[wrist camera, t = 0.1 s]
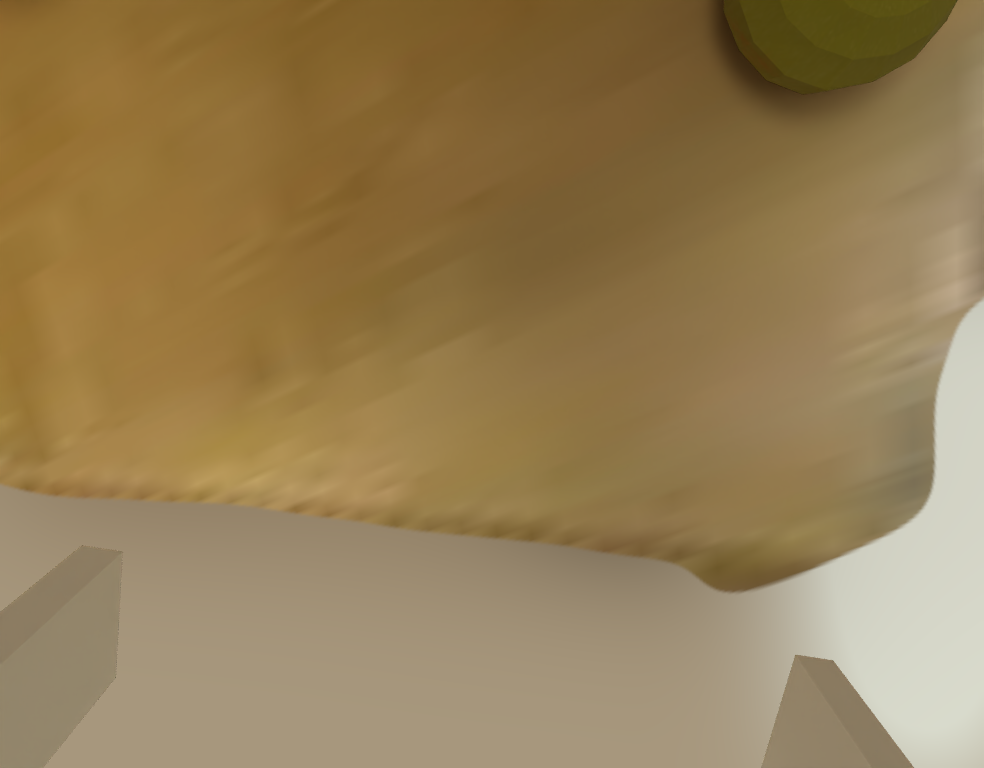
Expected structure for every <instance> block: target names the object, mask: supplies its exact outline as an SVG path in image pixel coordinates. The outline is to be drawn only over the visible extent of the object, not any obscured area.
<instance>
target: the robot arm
mask: <svg viewBox="0 0 984 768" xmlns="http://www.w3.org/2000/svg"><path fill="white" fill-rule="evenodd" d="M122 553H123V552H122V551H115V550H109V549H102V548H95V547H89V546H83V545H82V546H81V547H79V548H78V549H77V550H76V551H74V552H73V553H72V554H71V555H69V556H68V557H67V558H66V559H65V560H63V561H62V562H61V563H60V564H58V565H57V566H56V567H55V568H54V569H52V570H51V571H50V572H49V573H47V574H46V575H45V576H44V577H43V578H42V579H40V580H39V581H38V582H36V583H35V584H34V585H33V586H32V587H30V588H29V589H28V590H27V591H25V592H24V593H23V594H22V595H21V596H19V597H18V598H17V599H16V600H14V601H13V602H12V603H11V604H10V605H8V606H7V607H6V608H5V609H3V610H2V611H1V612H0V768H43V767H44V766H45V765H46V764H47V762H48V761H49V760H50V759H51V757H52V756H53V755H54V754H55V752H56V751H57V750H58V749H59V747H60V746H61V745H62V744H63V742H64V741H65V740H66V739H67V738H68V736H69V735H70V734H71V732H72V731H73V730H74V729H75V728H76V726H77V725H78V724H79V723H80V721H81V720H82V719H83V718H84V716H85V715H86V714H87V713H88V711H89V710H90V709H91V708H92V706H93V705H94V704H95V702H96V701H97V700H98V699H99V698H100V697H101V695H102V694H103V693H104V692H105V690H106V689H107V688H108V687H109V685H110V684H111V683H112V682H113V680H114V679H115V678H116V665H117V664H116V663H117V645H118V627H119V609H120V590H121V573H122ZM761 768H914V767H913V766H912V764H911V763H910V762H909V760H908V759H907V758H906V757H905V755H904V754H903V753H902V751H901V750H900V749H899V747H898V746H897V745H896V743H895V742H894V741H893V739H892V738H891V737H890V735H889V734H888V733H887V731H886V730H885V729H884V727H883V726H882V725H881V723H880V722H879V721H878V719H877V718H876V717H875V715H874V714H873V713H872V712H871V710H870V709H869V707H868V706H867V705H866V704H865V702H864V701H863V699H862V698H861V697H860V695H859V694H858V693H857V691H856V690H855V689H854V687H853V686H852V685H851V683H850V682H849V681H848V679H847V678H846V677H845V675H844V674H843V673H842V671H841V670H840V669H839V668H838V666H837V665H836V664H835V662H834V661H833V660H827V659H820V658H814V657H807V656H800V655H795V658H794V661H793V664H792V668H791V671H790V674H789V678H788V681H787V684H786V687H785V691H784V694H783V697H782V701H781V704H780V707H779V711H778V714H777V717H776V721H775V724H774V727H773V730H772V734H771V737H770V740H769V744H768V747H767V751H766V754H765V757H764V760H763V763H762V767H761Z"/></svg>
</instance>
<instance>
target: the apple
mask: <svg viewBox="0 0 984 768" xmlns="http://www.w3.org/2000/svg"><path fill="white" fill-rule="evenodd" d="M956 2H957V0H724V14H725V16H726V19H727V21H728V24H729V26H730V29H731V31H732V34H733V36H734V39H735V41H736V44H737V46H738V49H739V51H740V52H741V53H742V54H743V55H744V56H745V57H746V59H747V60H748V61H749V62H750V63H751V64H752V65H753V66H754V67H755V69H756V70H757V71H758V72H759V73H760V74H761V75H762V76H763V77H764V79H765V80H767V81H769V82H772V83H774V84H777V85H780V86H782V87H785V88H787V89H790V90H792V91H795V92H798V93H800V94H803V95H804V94H810V93H816V92H823V91H828V90H834V89H839V88H844V87H849V86H854V85H859V84H864V83H869V82H873V81H875V80H877V79H878V78H880V77H882V76H884V75H886V74H887V73H889V72H891V71H893V70H894V69H896V68H898V67H900V66H902V65H903V64H905V63H907V62H909V61H911V60H912V59H914V58H915V57H916V56H917V54H918V53H919V52H920V51H921V50H922V49H923V48H924V46H925V45H926V44H927V43H928V42H929V41H930V39H931V38H932V37H933V36H934V35H935V34H936V32H937V31H938V30H939V29H940V28H941V27H942V25H943V24H944V23H945V22H946V21H947V19H948V17H949V15H950V13H951V11H952V9H953V8H954V6H955V4H956Z"/></svg>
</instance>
